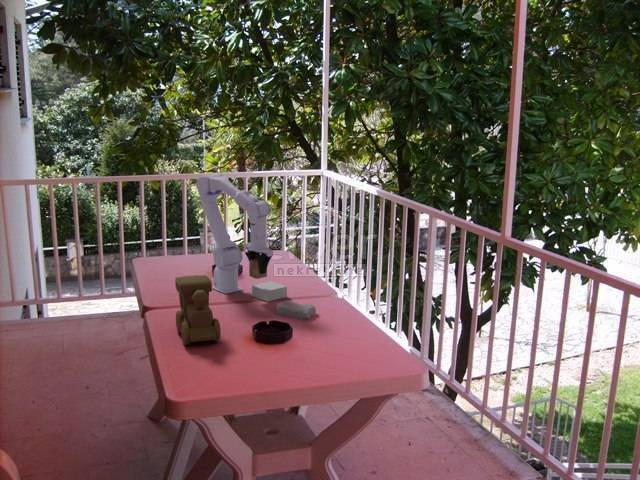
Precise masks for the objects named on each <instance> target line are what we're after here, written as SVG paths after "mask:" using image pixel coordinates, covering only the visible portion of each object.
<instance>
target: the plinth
mask: <svg viewBox="0 0 640 480" xmlns="http://www.w3.org/2000/svg"><path fill="white" fill-rule="evenodd" d="M251 296H252V297H254V298H257V299H260V300H262V301H263V302H266V303H267V302H268V303H269V302H272V301H276V300H279V299H285V298H288V286H287V285H284V284H282V283H281V284H280V283H278V282H275V281H271V280H270V281H266V282H262V283H257V284H253V285H251Z"/></svg>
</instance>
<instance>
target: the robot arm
mask: <svg viewBox="0 0 640 480" xmlns="http://www.w3.org/2000/svg"><path fill="white" fill-rule="evenodd" d="M195 187H196V190H197V192H198V196H199V198H200V202H201V205H202V209H203V211H204V214H205V217H206V220H207V222H208V225H209V228H210V231H211V233H212V236H213V239H214V240H213V241H214V242H215V246H214V247H213V249H212V250H211V251H212V254H213V255H212V256H213V262H214V265H215V268H214V270H213V286H212V290H216V291H217V292H220V293H222V294H225V295H226V294H232V293H236V292H240V291H243V290H244V289H243V288H242V287H239V267H240V264H241V263H242V262H243V253H242V251H241V249H240V248H239V246H238V245H237V243H236V242H235V241H233V240H231V239H230V236H229V233H228V230H227V227H226V225H225V222H224V219H223V215H222V213H221V210H220V207H219V204H218V202H217V201H218V198H219V197H220V196H221V195H222V194H223V193H225V194H226V195H227V196H229V197H231V198H233V199H234V203H235V204H236V205H237V206H239V207H240V208H241V209H243V210H244V211H246V213H247V216H248V221H249V223H250V230H249V232H250V243H249V242H248V243H244V250H247V251H245V253H244V254H245V256H246V257H247V260H248V261H249V260H252V259H258V263H259V271H260V274H265V273H266V270H267V271H268V265H269V264H270V263H269V262H270V261H271V259H272V258H273V256H274V250H273V249H270V248H269V247H268V246H267V240H268V239H267V235H268V232H267V230H268V228H267V227H268V226H267V225H268V222H267V221H268V220H267V219H268V216H269V215H270V213H271V206H270V204H269V203H268V201H267V200H263V199H262V200H261V199H258V197H255V196H254V195H252V194H251V193H250V191H249V190H244V189H242V190H240V189H238V188H237V187H236V186H235V185H234V184H233V183H232V182H230V181H229V180H228V177H227V176H226V175H224V174H223V173H215V174H206V175H203V174H201V175H199V176H198V178H197V180H196V184H195Z"/></svg>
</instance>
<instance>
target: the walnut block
mask: <svg viewBox="0 0 640 480" xmlns="http://www.w3.org/2000/svg"><path fill="white" fill-rule="evenodd" d="M248 263H249V265H248V266H249V268H248V269H249V275H248V276H249V277H250V278H253V279H256V280H259V279H262V278H267V277H268V269H267V270H266V273H265V274H260V271H259V263H258V259H252V260H248Z"/></svg>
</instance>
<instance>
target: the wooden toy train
mask: <svg viewBox="0 0 640 480" xmlns="http://www.w3.org/2000/svg"><path fill="white" fill-rule="evenodd" d="M174 283H175V289H176V292H177V293H178V299H179V304H180V305H179V307H180V310H177V311H176V312H175V325H176V331H177V332H178V333H179V334H181V341H182V343H183V345H184V346H188V345H190V343H195V342H204V341H214V342H215V343H217V342H219V341H220V340H221V326H220V321H219V319H217V318H214V315H213V311H212V309H211V308H210V306H209V305H210V293H212V291H213V289H212V287H213V286H212V285H213V283H212V280H211V279H210V277H209V276H207V275H204V274H203V275H202V274H201V275H199V274H198V275H197V274H196V275H184V276H178V277H175V279H174Z"/></svg>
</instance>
